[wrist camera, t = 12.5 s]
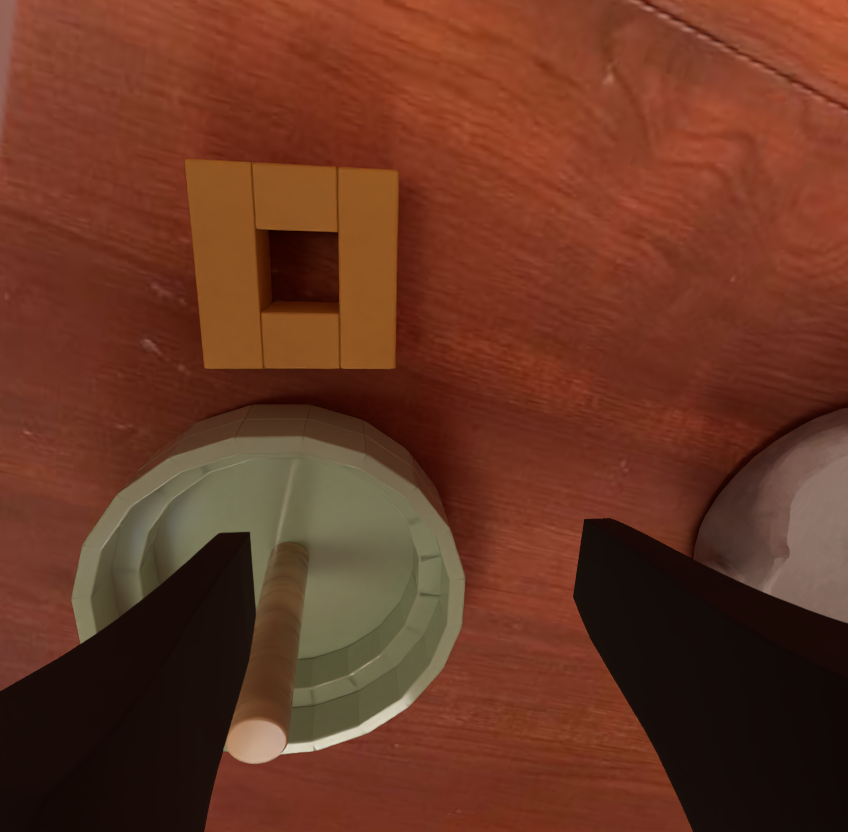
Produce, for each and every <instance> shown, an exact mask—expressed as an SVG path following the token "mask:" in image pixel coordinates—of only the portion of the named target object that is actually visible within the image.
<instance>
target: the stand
mask: <svg viewBox="0 0 848 832" xmlns="http://www.w3.org/2000/svg"><path fill="white" fill-rule="evenodd" d="M185 170H186V181H187V191H188V202H189V212H190V223H191V233H192V244H193V254H194V265H195V275H196V286H197V296H198V306H199V317H200V327H201V338H202V348H203V359H204V367H205V368H206V369H263V368H266V369H338V368H340V367H341V368H342V369H394V368H395V366H396V313H397V260H398V207H399V172H398V170H391V169H372V168H354V167H339V168H338V169H337V168H336V167H334V166H316V165H298V164H279V163H260V162H254V163H251V162H244V161H225V160H206V159H187V158H186V159H185ZM269 230H291V231H318V232H338V257H339V302H312V301H273V302H272V283H271V264H270V245H269Z"/></svg>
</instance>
